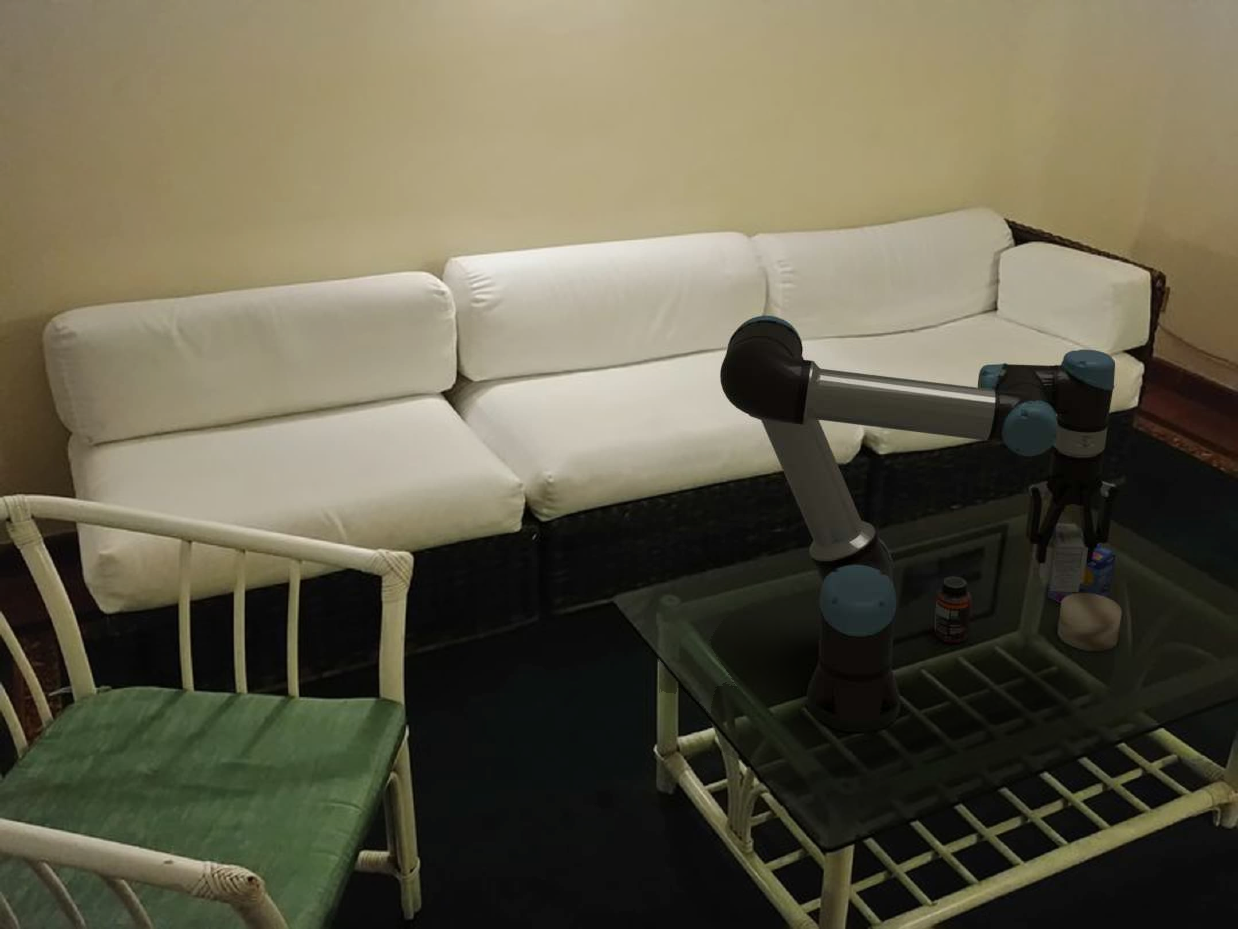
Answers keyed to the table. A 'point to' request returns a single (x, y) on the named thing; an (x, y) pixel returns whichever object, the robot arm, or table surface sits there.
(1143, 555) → the table surface
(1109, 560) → the ink cartridge box
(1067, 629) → the birch riser
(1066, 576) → the medicine box
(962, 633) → the supplement bottle
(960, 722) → the table surface
